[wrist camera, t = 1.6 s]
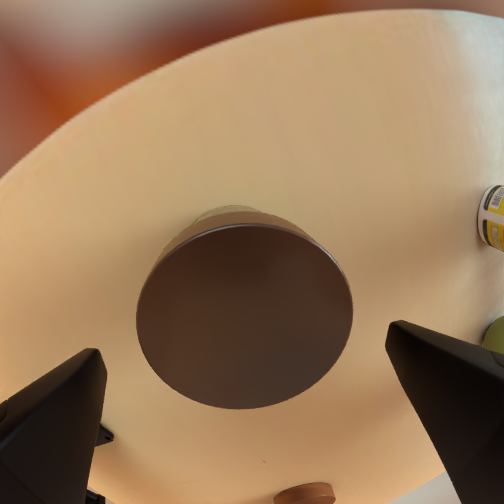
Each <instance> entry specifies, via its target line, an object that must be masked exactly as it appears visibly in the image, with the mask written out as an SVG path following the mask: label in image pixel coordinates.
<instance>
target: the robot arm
mask: <svg viewBox="0 0 504 504" xmlns="http://www.w3.org/2000/svg"><path fill="white" fill-rule="evenodd" d="M385 348H386V351H387V354H388V356H389V358H390V360H391V363H392V365H393V367H394V369H395V372H396V374H397V376H398V379H399V381H400V383H401V385H402V387H403V389H404V391H405V393H406V395H407V396H408V398H409V400H410V402H411V404H412V405H413V407H414V409H415V411H416V413H417V414H418V416H419V418H420V420H421V422H422V424H423V426H424V428H425V429H426V431H427V433H428V435H429V437H430V439H431V441H432V443H433V445H434V447H435V449H436V451H437V453H438V455H439V457H440V459H441V461H442V463H443V465H444V467H445V469H446V471H447V473H448V475H449V477H450V479H451V481H452V482H453V483H452V484H453V486H454V488H455V490H456V493H457V495H458V497H459V499H460V501H461V503H462V504H504V354H501V353H498V352H495V351H492V350H490V351H489V350H488V349H486V348H483V347H480V346H477V345H474V344H471V343H468V342H465V341H462V340H459V339H456V338H453V337H450V336H447V335H444V334H441V333H438V332H436V331H433V330H430V329H427V328H424V327H421V326H418V325H415V324H412V323H409V322H407V321H404V320H398V321H394V322H391V323H390V325H389V328H388V333H387V337H386V342H385ZM106 382H107V370H106V367H105V364H104V361H103V359H102V356H101V353H100V351H99V350H98V349H96V348H86V349H84V350H82V351H81V352H79V353H78V354H76V355H75V356H73V357H71V358H70V359H68V360H67V361H65V362H64V363H62V364H61V365H59V366H58V367H56V368H54V369H53V370H51V371H50V372H48V373H47V374H45V375H44V376H42V377H41V378H39V379H38V380H36V381H34V382H33V383H31V384H30V385H28V386H27V387H25V388H24V389H22V390H21V391H19V392H18V393H16V394H15V395H13V396H11V397H10V398H8V400H5V401H4V402H2V403H1V404H0V504H105V497H104V496H102V495H100V494H95V493H94V492H91V491H90V490H87V484H88V478H89V473H90V468H91V462H92V457H93V453H94V448H95V447H96V446H99V445H102V444H106V443H109V442H112V441H113V439H114V435H113V434H112V433H111V432H109V431H108V430H107V429H105V428H104V427H103V426H102V425H100V421H101V417H102V410H103V403H104V395H105V388H106Z"/></svg>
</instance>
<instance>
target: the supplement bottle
mask: <svg viewBox="0 0 504 504" xmlns="http://www.w3.org/2000/svg"><path fill="white" fill-rule="evenodd" d="M478 228H479V233H480V236H481V238H482V240H483V241H484V242H485V243H486V244H488V245H490V246H492V247H494V248H496V249H499V250H501V251H503V252H504V186H502V185H494V186H491V187H490V188H489V189H488V190H487V191H486V192H485V194H484V196H483V198H482V200H481V203H480V207H479V213H478Z"/></svg>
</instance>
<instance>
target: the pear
mask: <svg viewBox="0 0 504 504" xmlns="http://www.w3.org/2000/svg"><path fill="white" fill-rule="evenodd" d="M483 348H486V349H488V350H489V351H490V350H492V351H495V352H498V353H501V354H504V316H502V317H500V318H498V319H497V320H495V321H494V322H493V323H492V324H491V326H490V327H489V329H488V330H487V332H486V334H485V337H484V340H483Z"/></svg>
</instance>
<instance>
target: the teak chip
mask: <svg viewBox="0 0 504 504" xmlns="http://www.w3.org/2000/svg"><path fill="white" fill-rule="evenodd" d="M335 500H336V498H335V495H334V492H333V490H332V487H331V485H330V484H327V483H310V484H305V485H300V486H297V487H294V488H291V489H288V490H286V491H283V492H282V493H280V494H278V495H277V496H276V497H275V498H274V504H333V503H334V502H335Z"/></svg>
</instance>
